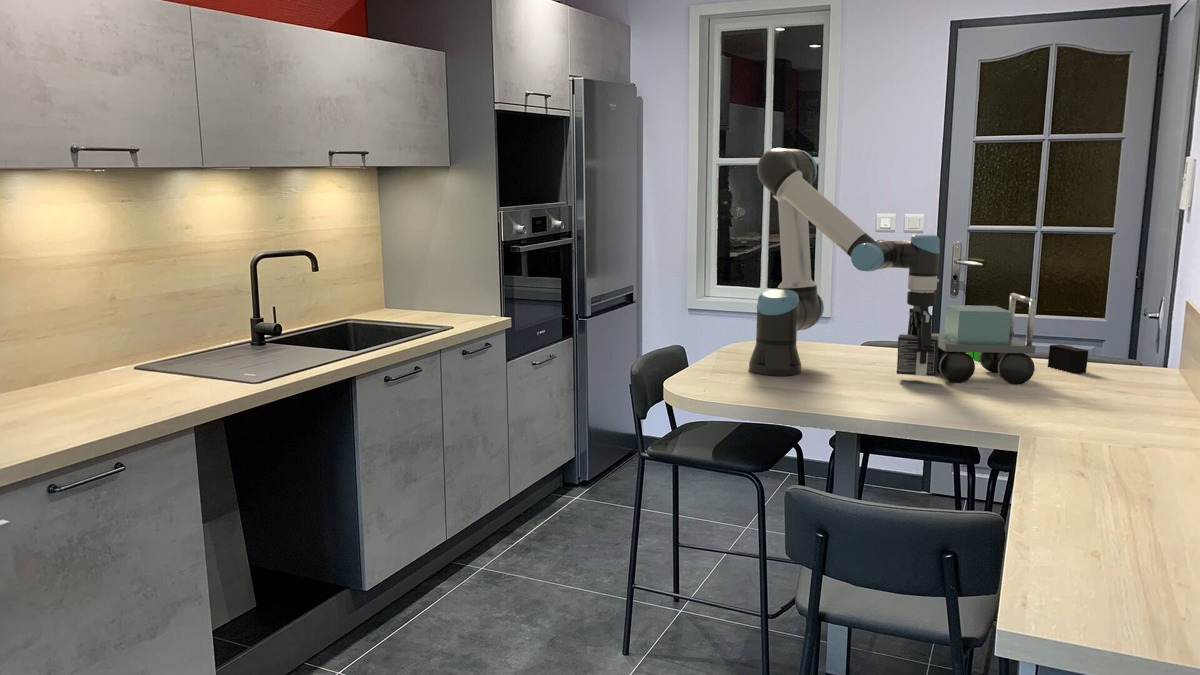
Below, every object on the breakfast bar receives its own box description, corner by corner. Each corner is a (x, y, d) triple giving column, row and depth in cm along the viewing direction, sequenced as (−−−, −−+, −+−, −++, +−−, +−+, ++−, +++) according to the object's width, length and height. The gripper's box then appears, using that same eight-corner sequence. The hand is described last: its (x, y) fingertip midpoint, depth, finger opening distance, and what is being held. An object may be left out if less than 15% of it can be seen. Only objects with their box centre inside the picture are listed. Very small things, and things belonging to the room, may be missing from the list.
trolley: (940, 383, 246) (947, 298, 242) (922, 369, 264) (928, 290, 259) (1033, 385, 244) (1041, 300, 240) (1008, 371, 262) (1016, 292, 258)
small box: (937, 371, 248) (939, 335, 246) (936, 377, 242) (938, 339, 240) (898, 369, 252) (899, 333, 250) (896, 374, 246) (897, 337, 244)
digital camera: (1089, 373, 261) (1092, 350, 260) (1075, 374, 259) (1077, 351, 258) (1061, 366, 271) (1063, 343, 270) (1047, 367, 269) (1049, 344, 268)
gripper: (947, 295, 233) (941, 380, 237) (925, 286, 253) (920, 364, 257) (918, 295, 233) (913, 379, 237) (898, 286, 254) (893, 364, 258)
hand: (916, 371), depth 247 cm, fingers closed on small box, 8 cm apart
